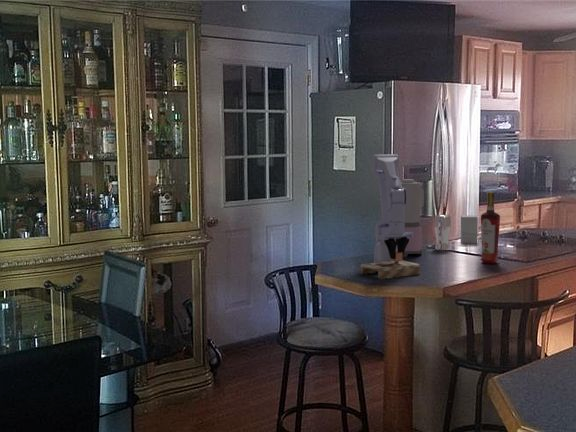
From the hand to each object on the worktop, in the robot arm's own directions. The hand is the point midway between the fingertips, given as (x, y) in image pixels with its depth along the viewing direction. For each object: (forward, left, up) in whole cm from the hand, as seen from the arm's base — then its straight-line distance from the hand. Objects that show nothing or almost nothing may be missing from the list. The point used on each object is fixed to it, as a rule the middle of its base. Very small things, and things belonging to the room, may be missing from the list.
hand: (396, 258), depth 261 cm
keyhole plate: (0, -3, -6) cm, 6 cm away
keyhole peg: (0, 0, -6) cm, 6 cm away
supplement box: (-40, +74, -6) cm, 84 cm away
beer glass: (-32, +50, -6) cm, 60 cm away
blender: (-30, +31, -6) cm, 44 cm away
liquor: (+4, +43, -6) cm, 44 cm away
